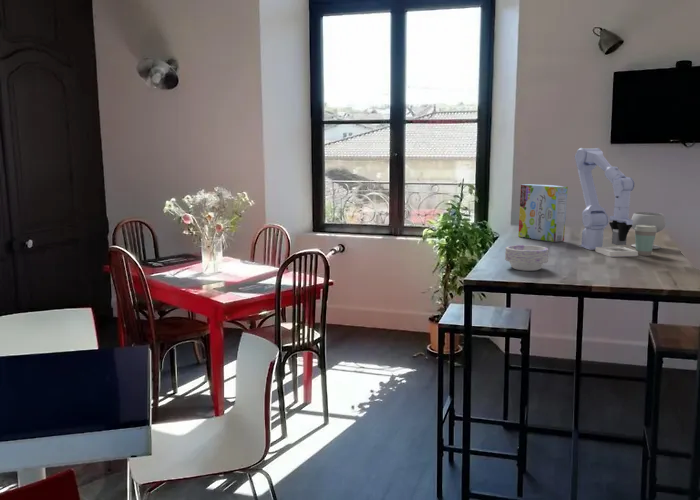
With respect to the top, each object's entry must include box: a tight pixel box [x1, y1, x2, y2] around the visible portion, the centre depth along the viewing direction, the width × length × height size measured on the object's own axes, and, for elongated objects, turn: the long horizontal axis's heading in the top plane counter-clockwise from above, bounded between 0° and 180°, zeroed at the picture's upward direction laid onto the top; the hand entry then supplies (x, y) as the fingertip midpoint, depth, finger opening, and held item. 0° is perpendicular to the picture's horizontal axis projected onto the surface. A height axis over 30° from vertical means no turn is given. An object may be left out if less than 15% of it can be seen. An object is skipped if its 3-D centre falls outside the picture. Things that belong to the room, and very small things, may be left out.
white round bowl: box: [504, 244, 549, 272], centre depth 237 cm, size 15×15×8 cm
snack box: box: [518, 183, 568, 243], centre depth 306 cm, size 22×9×26 cm, turn 34°
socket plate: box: [595, 246, 639, 258], centre depth 269 cm, size 12×12×2 cm
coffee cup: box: [634, 225, 658, 257], centre depth 267 cm, size 8×8×12 cm
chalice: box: [630, 211, 667, 250], centre depth 285 cm, size 14×14×15 cm
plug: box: [611, 229, 628, 246], centre depth 267 cm, size 4×4×6 cm
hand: (619, 240), depth 267 cm, fingers closed on plug, 4 cm apart
